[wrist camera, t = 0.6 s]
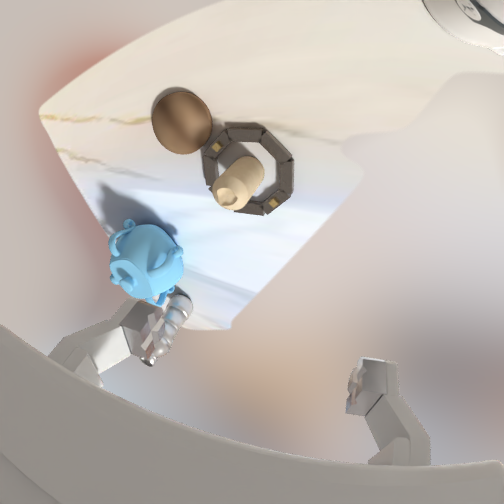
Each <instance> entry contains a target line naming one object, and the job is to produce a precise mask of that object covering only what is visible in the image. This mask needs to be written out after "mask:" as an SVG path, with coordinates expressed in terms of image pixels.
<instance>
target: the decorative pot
mask: <svg viewBox="0 0 504 504" xmlns="http://www.w3.org/2000/svg"><path fill="white" fill-rule="evenodd" d="M128 224H129V227H128ZM123 227H124V228H125V230H121V231H118V232H116V233H114V234H113V235H112V236H111V237H110V239H109V249H110V251H111V253H112V256H111V259H110V269H111V272H112V274H111V276H110V280H111V281H112V283H114V284H119V285H121V287H122V288H123V289H124V290H125V291H126V292H127V293H128V294H129V295H131V296H132V297H134V298H141V299H142V298H145V299H146V301H147V303H150V304H153V305H155V306H158V307H161V306H162V305H163V304H164V302H165V299H166V297H167V293H172V292H173V291H174V289H175V286H174V285H175V284H176V283H177V282H178V281H179V280H180V278H181V277H182V274H183V262H182V258H181V255H182V254H183V248H182V247H180V246H176V245H175V243H174V242H173V240H172V239H171V238H170V237H169V235H168V234H167V233H166V232H165V231H164V230H163V229H161V228H160V227H158V226H156V225H152V224H146V225H138V226H136V225H135V222H134V221H133V220H131V219H127V220H125V221H124V223H123ZM119 236H120V238H119V239H118V241H117V242H116V244H115V240H116V238H117V237H119ZM158 294H160V297H159V299H158V301H157V303H155V302H154V301H153V299H152V297H153V296H156V295H158Z"/></svg>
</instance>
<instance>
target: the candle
mask: <svg viewBox="0 0 504 504" xmlns="http://www.w3.org/2000/svg"><path fill="white" fill-rule="evenodd" d="M263 178H264V168H263V166H262V164H261V163H260V162H259V161H258V160H257V159H256V158H254V157H250V156H244V157H241V158H239V159H237V160H236V161H235V162H234V163H233V164H232V165H231V166H230V167H229V168H228V169H227V170H226V171H225V172H224V173H223V174H222V175H221V176H220V177H219V178H218V179H217V180H216V181H215V182H214V184H213V187H212V193H213V196H214V198H215V200H216V201H217V203H218V204H219V205H221V206H222V207H224V208H226V209H228V210H239V209H241V208H243V207H244V206H245V205H246V204H247V202H248V201H249V199H250V198H251V196H252V195H253V193H254V192H255V191H256V189H257V188H258V186H259V185H260V184H261V182H262V180H263Z"/></svg>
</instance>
